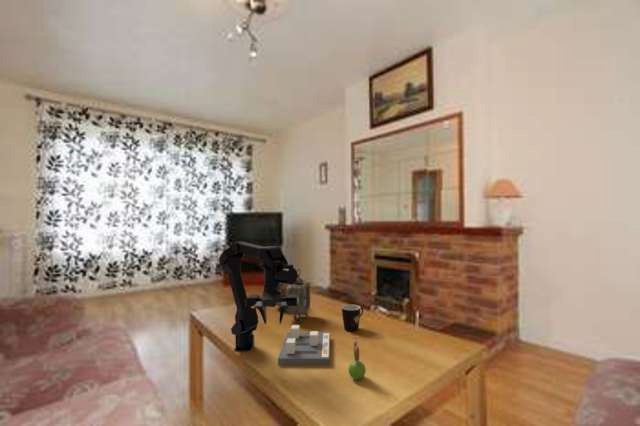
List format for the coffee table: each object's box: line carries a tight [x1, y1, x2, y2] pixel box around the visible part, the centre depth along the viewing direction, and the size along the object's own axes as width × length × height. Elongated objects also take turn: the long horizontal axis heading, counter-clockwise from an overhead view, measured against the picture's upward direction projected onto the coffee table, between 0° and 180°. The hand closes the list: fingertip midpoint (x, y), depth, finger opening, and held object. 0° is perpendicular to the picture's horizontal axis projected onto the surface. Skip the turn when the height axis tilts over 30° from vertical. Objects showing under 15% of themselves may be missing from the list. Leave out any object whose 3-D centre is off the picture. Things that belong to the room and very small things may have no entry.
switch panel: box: [277, 332, 331, 367], centre depth 126 cm, size 18×24×3 cm
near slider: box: [286, 338, 296, 354], centre depth 119 cm, size 3×4×4 cm
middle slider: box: [309, 330, 319, 346], centre depth 126 cm, size 3×4×4 cm
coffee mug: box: [341, 304, 364, 333], centre depth 148 cm, size 12×9×10 cm
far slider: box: [290, 324, 301, 338], centre depth 133 cm, size 3×4×4 cm
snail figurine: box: [348, 336, 367, 380], centre depth 105 cm, size 5×6×12 cm
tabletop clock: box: [285, 268, 311, 323], centre depth 163 cm, size 14×9×25 cm, turn 168°
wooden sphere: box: [276, 283, 290, 307], centre depth 183 cm, size 15×15×15 cm
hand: (272, 323), depth 119 cm, fingers open, 5 cm apart
